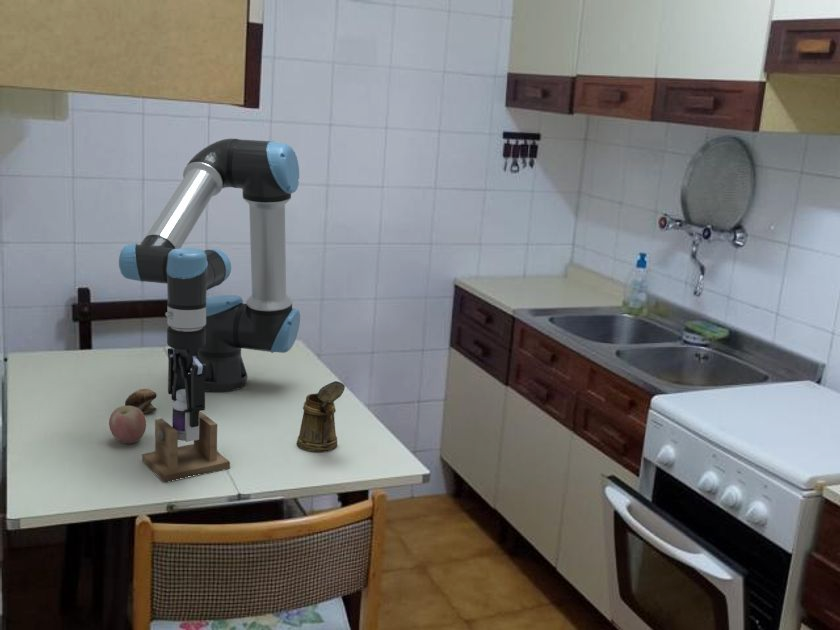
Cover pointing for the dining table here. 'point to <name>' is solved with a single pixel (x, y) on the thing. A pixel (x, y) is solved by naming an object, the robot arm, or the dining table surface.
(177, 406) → the pill bottle
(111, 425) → the apple
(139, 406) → the mushroom
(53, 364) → the dining table surface
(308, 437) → the wooden mug
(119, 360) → the dining table surface
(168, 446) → the holder
